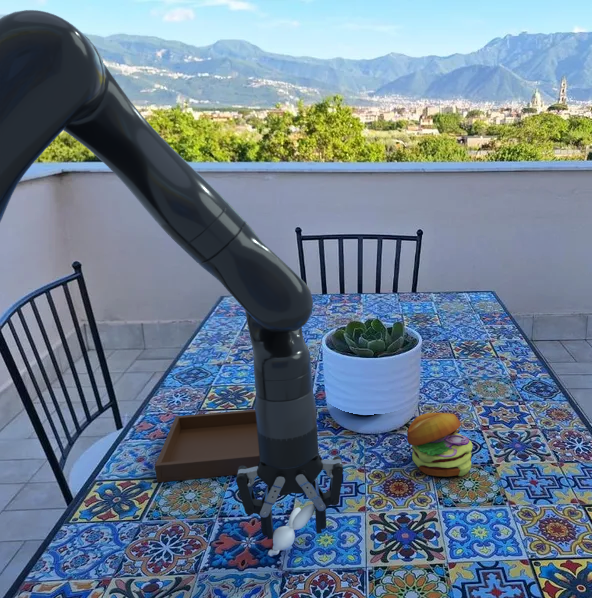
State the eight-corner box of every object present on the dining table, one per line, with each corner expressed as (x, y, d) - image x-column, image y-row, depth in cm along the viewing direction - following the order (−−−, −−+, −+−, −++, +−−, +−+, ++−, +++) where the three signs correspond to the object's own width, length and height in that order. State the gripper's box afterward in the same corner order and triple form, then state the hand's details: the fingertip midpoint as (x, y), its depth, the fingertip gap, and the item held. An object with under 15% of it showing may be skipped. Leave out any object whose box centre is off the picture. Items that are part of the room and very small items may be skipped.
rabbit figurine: (255, 548, 76) (292, 498, 80) (276, 566, 76) (312, 516, 81) (269, 550, 71) (307, 497, 75) (291, 570, 71) (328, 516, 76)
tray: (157, 482, 90) (154, 465, 89) (177, 430, 106) (175, 416, 105) (281, 470, 93) (279, 453, 92) (283, 421, 109) (282, 407, 108)
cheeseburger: (450, 491, 87) (438, 430, 86) (400, 479, 94) (388, 423, 93) (487, 462, 94) (476, 406, 93) (438, 453, 101) (427, 401, 100)
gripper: (224, 442, 67) (238, 559, 72) (345, 430, 69) (350, 545, 74) (231, 412, 74) (243, 520, 79) (341, 403, 76) (345, 508, 81)
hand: (295, 532), depth 76 cm, fingers closed on rabbit figurine, 6 cm apart
